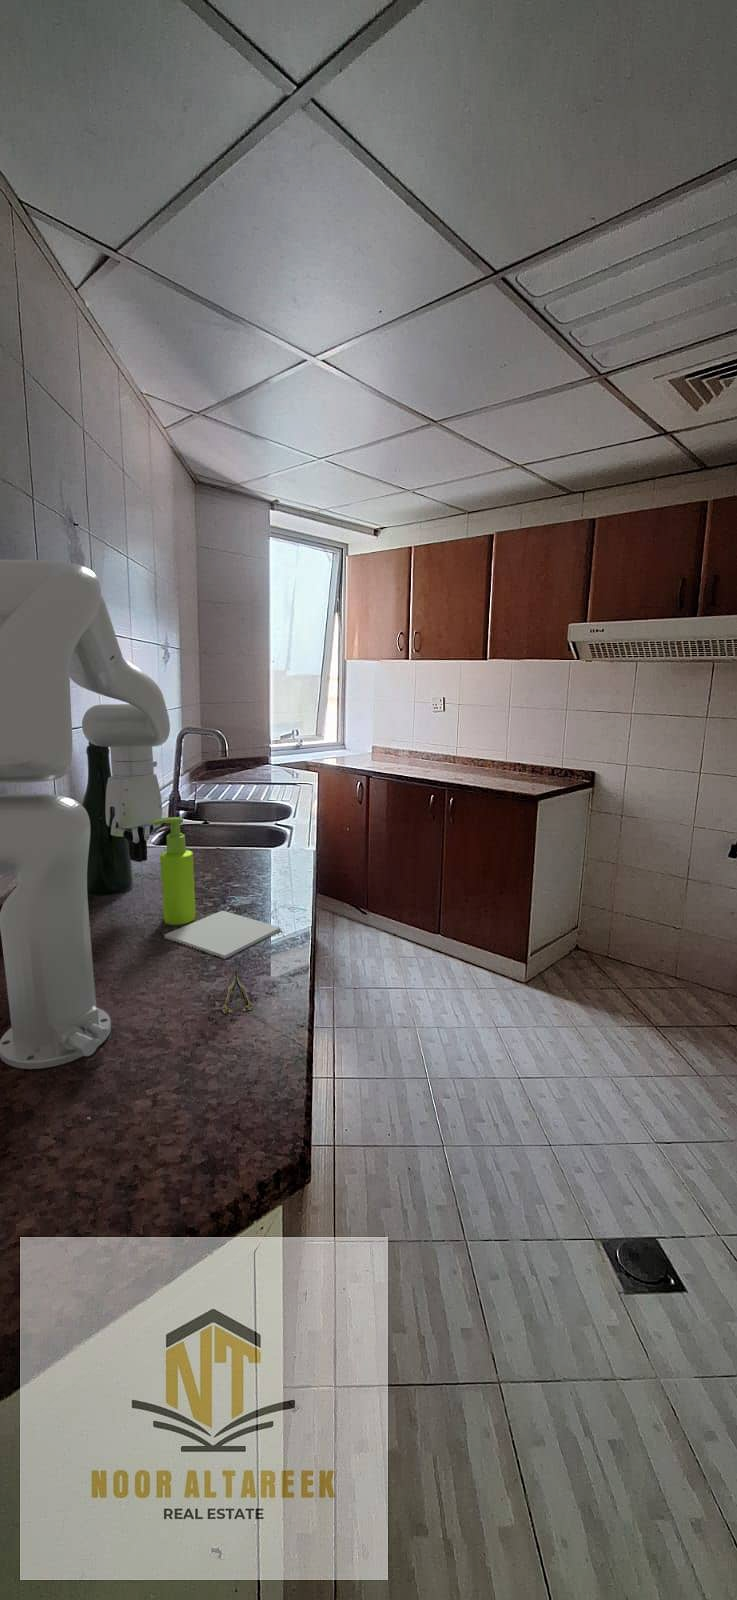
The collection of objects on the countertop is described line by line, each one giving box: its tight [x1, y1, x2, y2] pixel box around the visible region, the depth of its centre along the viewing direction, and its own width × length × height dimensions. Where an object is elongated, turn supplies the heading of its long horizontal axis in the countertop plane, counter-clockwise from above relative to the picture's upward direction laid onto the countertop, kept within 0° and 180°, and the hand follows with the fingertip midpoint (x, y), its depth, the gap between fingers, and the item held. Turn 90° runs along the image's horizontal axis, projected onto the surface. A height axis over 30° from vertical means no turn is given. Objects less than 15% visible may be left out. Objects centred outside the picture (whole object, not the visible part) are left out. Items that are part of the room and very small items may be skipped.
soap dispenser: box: [152, 816, 197, 926], centre depth 113 cm, size 6×7×20 cm
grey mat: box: [164, 910, 281, 960], centre depth 108 cm, size 15×14×1 cm
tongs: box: [221, 969, 253, 1014], centre depth 88 cm, size 4×13×2 cm, turn 18°
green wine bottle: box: [80, 741, 134, 897], centre depth 127 cm, size 10×10×33 cm
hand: (138, 860), depth 118 cm, fingers closed
